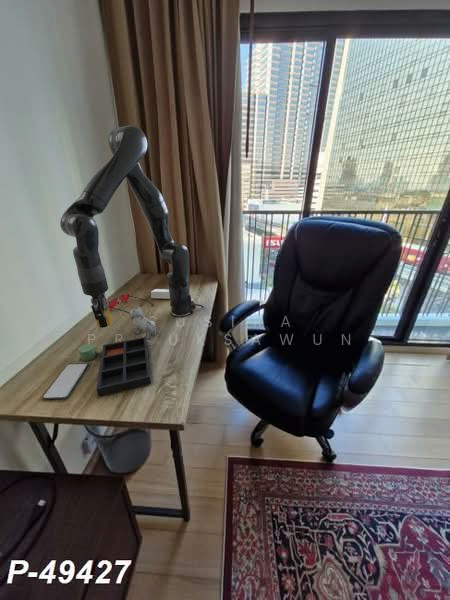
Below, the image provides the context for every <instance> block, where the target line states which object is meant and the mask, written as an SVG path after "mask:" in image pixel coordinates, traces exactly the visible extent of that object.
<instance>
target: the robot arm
mask: <svg viewBox="0 0 450 600" xmlns="http://www.w3.org/2000/svg"><path fill="white" fill-rule="evenodd" d="M147 139H148V138H147V136H146V134H145V133H144V131H143V130H142V129H141V128H140V127H138V126H136V125H130V124H129V125H124V126H119V127H116V128H112V129H111V130H110V131H109V132H108V135H107V144H108V147H109V150H110V152H111V154H112V157H111V158H109V161H107V162H106V163H105V164H104V166H102V167H101V168H100V169H99V170H98V171H97V172H96V173H95V174H94V175H93V176H92V177H91V179H89V181H88V183H87V184H86V185H85V187H84V189H83V190H82V192H81V194H80V196H79V197H78V198H77V199H75V201H73V202H72V203H71V205H69V207H67V209H65V211H64V212H63V213H62V215H61V218H60V220H59V221H60V222H59V225H60V229H61V231H62V232H63V233H64V234H65V235H67V236H69V237H71V238H75V243H76V246H75V247H73V249H72V255H73V259H74V262H75V265H76V271H77V276H78V280H79V282H80V286H81V290H82V293H83V294H84V295H85V296H89V297H91V298H90V302H91V304H92V305H90V308H91V310H92V313H93V315H94V319H95V321H96V320H98V321H99V324H100V327H99V328H100V329H103V328H107V327H108V326H107V321H106V316H105V312H104V311H105V310H108V307H107V306H108V301H107V297H106V292H107V291H108V290H109V284H108V281H107V276H106V272H105V268H104V266H103V263H102V260H101V257H100V252H99V245H100V244H99V241H100V239H99V238H100V237H99V236H100V235H99V234H100V233H99V227H98V224H97V223H96V221H95V218H94V217H95V216H97V215H101V214H102V213H103V212H104V211H105V210H106V208H107V207H108V205H109V203H110V202H111V199H112V198H113V196H114V195H115V193H116V191H117V190H118V188H119V187H120V185H121V184H122V183H123V181H124V180H125V179H126V181H127V183H128V185H129V186H130V188H131V191H132V192H133V195H134V197H135V200H136V201H137V203H138V206H139V207H140V210H141V212H142V215H143V216H144V218H145V220H146V223H147V224H148V226H149V229H150V231H151V234H152V235H153V237H154V240H155V242H156V245H157V246H156V247H157V248H158V251H159V254H160V257H161V259H162V260H163V261H164V262H165V263H166V264H168V265H169V264H170V265H171V271H169V272H168V273H167V275H166V278H167V285H168V290H169V294H170V299H169V302H170V303H169V306H170V312H171V315H172V316H174V317H177V318H183V317H187V316H188V315H190V314H191V315H192V314H193V310H196V307H201V308H202V309H204V308H205V306H203V304H199V303H195V301H194V300H192V295H191V293H190V281H189V279H190V278H189V275H190V268H191V267H190V266H191V265H190V252H189V249H188V248H187V246H186V245H183V244H181V243H177V242H175V241H174V239H173V238H172V234H171V232H170V229H169V222H170V221H169V220H170V215H169V209H168V206H167V204H166V202H165V199H164V196H163V194H162V193H161V191H160V190H159V189H158V187H156V185H155V184H154V183H153V182H152V180H150V178H148V176H147V175H146V173H145V172H144V171H143V168H142V167H141V164H140V161H141V160H142V159H143V158H144V156H146V153H147V151H148V140H147ZM99 314H101V315H99Z"/></svg>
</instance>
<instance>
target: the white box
mask: <svg viewBox="0 0 450 600" xmlns="http://www.w3.org/2000/svg"><path fill="white" fill-rule="evenodd" d="M150 298H151V299H168V300H170V294H169V288H168V289H167V288H166V289H165V288H161V289H160V288H155V289H153V290H151V291H150Z"/></svg>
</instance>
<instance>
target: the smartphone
mask: <svg viewBox="0 0 450 600" xmlns="http://www.w3.org/2000/svg"><path fill="white" fill-rule="evenodd" d="M88 366H89V364H88V363H86V362H85V363H81V362H80V363H67V364H66V366H65V367H64V368H63V370H62V372H61V373H60V374H59V375H58V377H56V379H55V380H54V382H53V383H52V384H51V386H50V387H49V388H48V390H47V391H46V392H45V393H44V395H43V396H42V398H43V400H52V399H53V400H54V399H55V400H56V399H66V398H68V396H69V395H70V393H71V392H72V390H73V388H74V387H75V386H76V384H77V382H78V381H79V379H80V378H81V377H82V375H83V373H85V370H86V368H87V367H88Z"/></svg>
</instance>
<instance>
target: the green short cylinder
mask: <svg viewBox="0 0 450 600" xmlns="http://www.w3.org/2000/svg"><path fill="white" fill-rule="evenodd" d="M78 353H79V356H80V360H82V361H83V362H88V361H89V362H90V361H92V360H94V359H95V358H96V357H97V351H96V348H95V345H94V344H93V343H84V344H82V345H81V346H79V348H78Z"/></svg>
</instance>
